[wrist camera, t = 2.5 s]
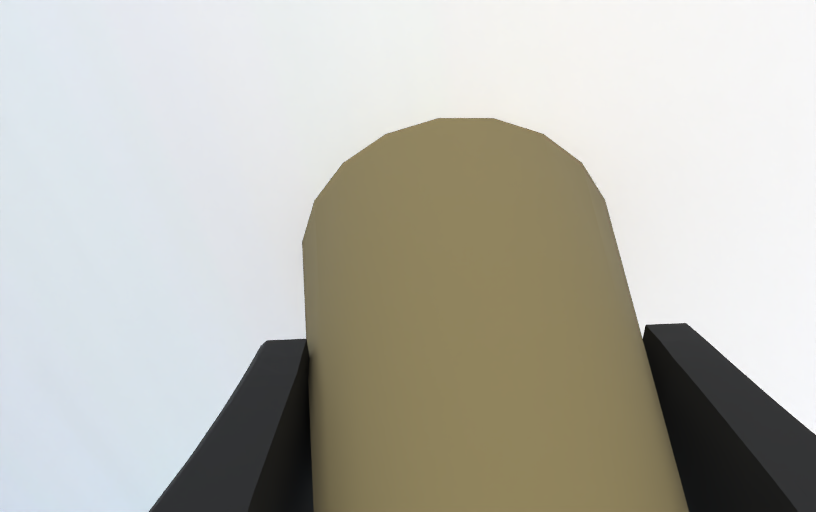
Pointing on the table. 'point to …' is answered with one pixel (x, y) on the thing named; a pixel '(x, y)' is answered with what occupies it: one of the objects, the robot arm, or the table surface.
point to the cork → (476, 334)
